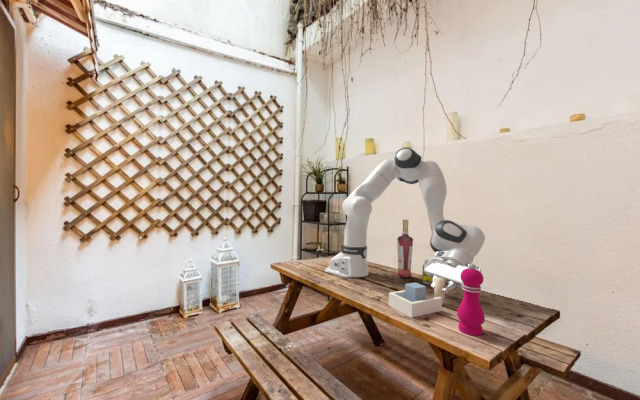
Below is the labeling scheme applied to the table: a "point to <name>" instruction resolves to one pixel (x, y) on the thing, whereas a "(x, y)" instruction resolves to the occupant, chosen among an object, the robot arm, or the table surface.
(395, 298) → the white u-shaped wall
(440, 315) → the table surface
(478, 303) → the pepper mill
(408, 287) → the block
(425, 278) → the supplement bottle
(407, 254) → the liquor
